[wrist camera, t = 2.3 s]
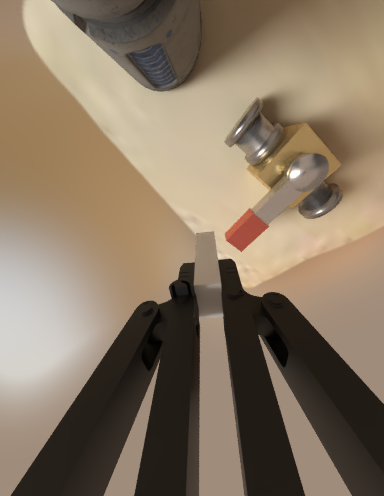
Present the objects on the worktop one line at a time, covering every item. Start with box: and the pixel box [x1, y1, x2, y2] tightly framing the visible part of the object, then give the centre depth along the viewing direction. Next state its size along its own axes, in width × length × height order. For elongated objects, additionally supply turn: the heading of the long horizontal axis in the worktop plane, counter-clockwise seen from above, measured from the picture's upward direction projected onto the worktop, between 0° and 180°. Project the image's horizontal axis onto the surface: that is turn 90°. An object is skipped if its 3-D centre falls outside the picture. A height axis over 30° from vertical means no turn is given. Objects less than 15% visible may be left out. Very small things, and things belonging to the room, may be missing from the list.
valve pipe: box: [225, 98, 343, 219], centre depth 25 cm, size 18×7×8 cm, turn 53°
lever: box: [225, 153, 329, 252], centre depth 23 cm, size 14×4×2 cm, turn 143°
